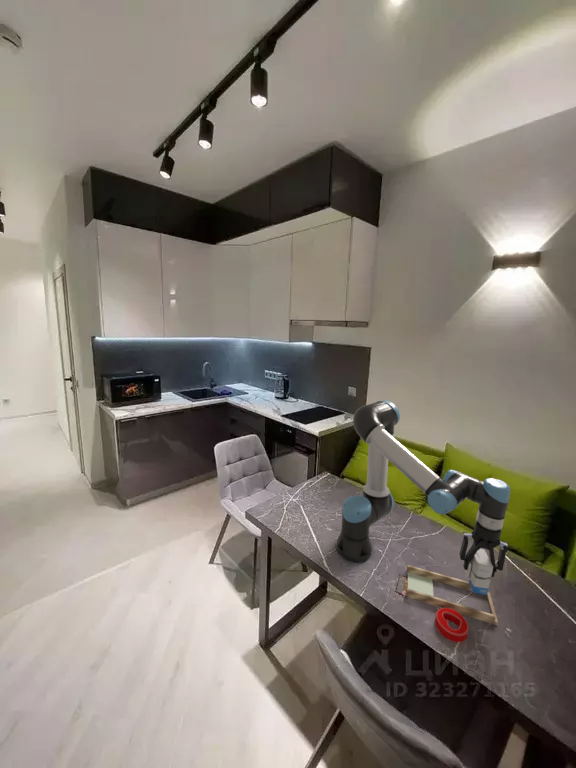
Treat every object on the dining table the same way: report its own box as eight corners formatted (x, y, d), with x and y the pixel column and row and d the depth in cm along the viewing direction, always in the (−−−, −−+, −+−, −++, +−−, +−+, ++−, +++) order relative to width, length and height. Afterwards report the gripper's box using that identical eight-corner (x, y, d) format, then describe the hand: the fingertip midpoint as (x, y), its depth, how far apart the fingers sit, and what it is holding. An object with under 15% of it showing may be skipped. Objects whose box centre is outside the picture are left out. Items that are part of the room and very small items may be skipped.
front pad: (407, 595, 117) (407, 594, 117) (407, 572, 127) (408, 572, 127) (433, 603, 114) (434, 602, 114) (432, 579, 124) (432, 579, 124)
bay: (405, 596, 117) (406, 589, 116) (406, 570, 128) (407, 564, 127) (497, 625, 107) (498, 618, 106) (489, 594, 118) (490, 588, 117)
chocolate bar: (407, 600, 116) (407, 599, 115) (393, 594, 118) (393, 593, 118) (411, 579, 125) (412, 577, 125) (399, 574, 127) (399, 572, 127)
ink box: (487, 595, 108) (494, 567, 105) (472, 592, 109) (478, 564, 106) (478, 575, 116) (484, 548, 113) (464, 572, 117) (469, 546, 114)
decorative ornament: (473, 634, 104) (475, 626, 103) (454, 648, 99) (456, 640, 99) (447, 609, 112) (448, 602, 111) (428, 621, 108) (429, 614, 107)
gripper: (459, 523, 106) (448, 579, 112) (525, 539, 100) (509, 597, 106) (456, 510, 113) (446, 563, 119) (518, 524, 107) (504, 579, 113)
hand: (476, 579), depth 112 cm, fingers closed on ink box, 5 cm apart
